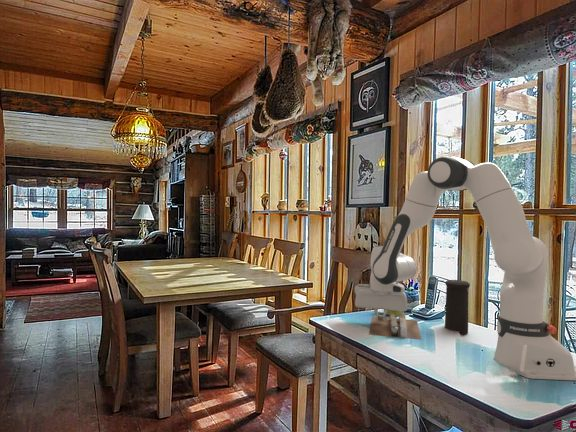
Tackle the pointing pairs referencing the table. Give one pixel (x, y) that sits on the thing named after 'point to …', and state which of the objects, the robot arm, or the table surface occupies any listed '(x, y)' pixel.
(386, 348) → the table surface
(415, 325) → the walnut board
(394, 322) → the loose tong leg
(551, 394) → the table surface
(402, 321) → the fixed tong leg
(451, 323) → the container
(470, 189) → the robot arm
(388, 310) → the plant pot
